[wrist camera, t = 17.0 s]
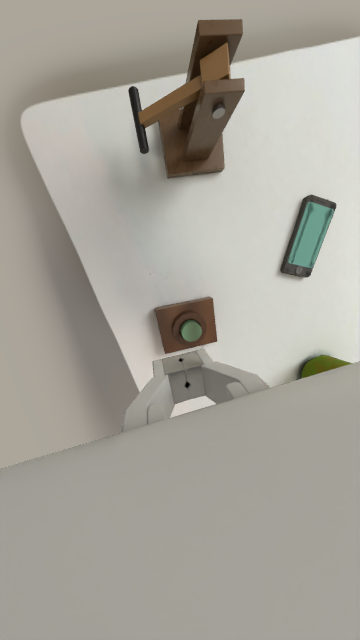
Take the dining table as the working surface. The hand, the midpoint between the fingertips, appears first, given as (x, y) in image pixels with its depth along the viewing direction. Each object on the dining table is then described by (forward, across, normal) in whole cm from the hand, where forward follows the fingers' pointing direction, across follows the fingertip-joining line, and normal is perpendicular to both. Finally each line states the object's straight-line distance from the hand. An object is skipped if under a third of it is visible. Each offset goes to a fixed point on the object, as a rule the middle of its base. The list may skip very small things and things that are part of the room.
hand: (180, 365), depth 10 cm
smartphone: (+26, -34, -6) cm, 43 cm away
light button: (+23, -5, +8) cm, 25 cm away
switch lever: (+19, -8, -23) cm, 31 cm away
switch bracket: (+26, -11, -23) cm, 37 cm away
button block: (+26, -6, +8) cm, 28 cm away
